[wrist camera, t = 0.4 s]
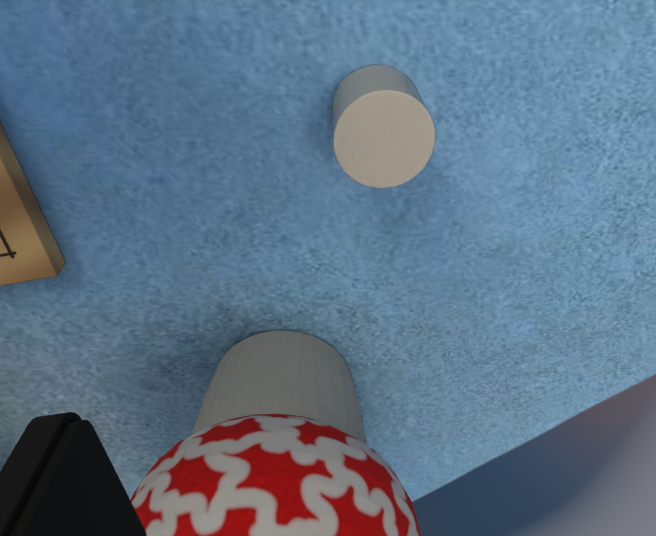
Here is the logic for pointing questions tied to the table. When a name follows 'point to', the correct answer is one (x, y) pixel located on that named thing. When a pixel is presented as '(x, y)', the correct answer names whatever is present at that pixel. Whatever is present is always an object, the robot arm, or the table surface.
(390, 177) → the beige cylinder
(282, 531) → the decorative object
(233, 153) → the table surface
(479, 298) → the table surface
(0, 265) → the board
